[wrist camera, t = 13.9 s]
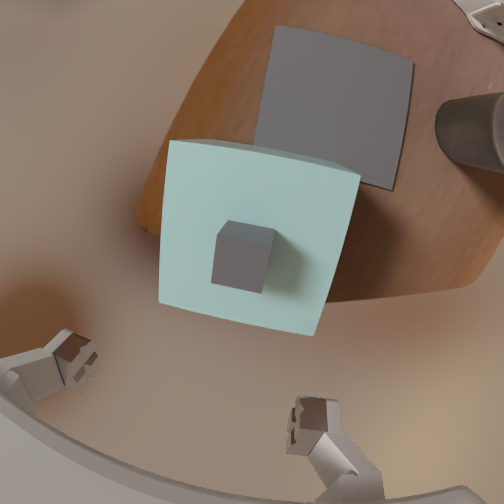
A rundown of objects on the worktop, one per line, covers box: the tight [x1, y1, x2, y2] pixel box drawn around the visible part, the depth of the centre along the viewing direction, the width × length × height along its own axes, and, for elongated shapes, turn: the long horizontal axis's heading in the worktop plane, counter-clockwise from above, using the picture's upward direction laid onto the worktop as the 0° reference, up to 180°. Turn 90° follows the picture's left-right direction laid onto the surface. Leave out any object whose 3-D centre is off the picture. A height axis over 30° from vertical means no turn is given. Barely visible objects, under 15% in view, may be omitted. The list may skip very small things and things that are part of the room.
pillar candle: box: [435, 92, 504, 174], centre depth 24 cm, size 10×10×15 cm
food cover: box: [159, 139, 361, 336], centre depth 30 cm, size 16×16×18 cm
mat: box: [253, 25, 414, 190], centre depth 32 cm, size 19×19×1 cm
